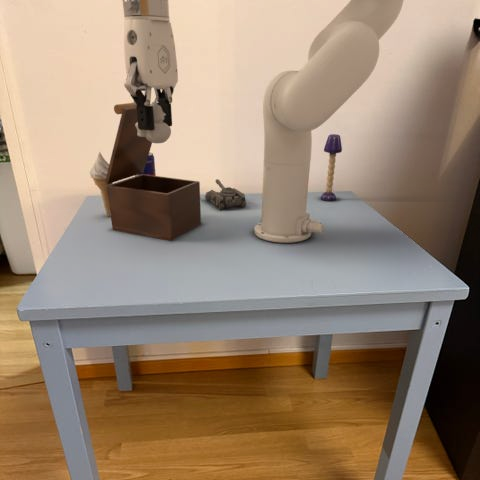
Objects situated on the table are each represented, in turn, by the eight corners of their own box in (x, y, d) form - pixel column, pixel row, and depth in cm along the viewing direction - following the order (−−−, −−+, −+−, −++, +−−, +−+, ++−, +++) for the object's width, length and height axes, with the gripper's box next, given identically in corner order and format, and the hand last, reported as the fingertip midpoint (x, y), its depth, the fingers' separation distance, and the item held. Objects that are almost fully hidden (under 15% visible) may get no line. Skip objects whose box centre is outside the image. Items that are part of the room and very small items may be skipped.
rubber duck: (175, 144, 85) (172, 97, 81) (140, 146, 83) (135, 97, 79) (167, 140, 90) (164, 95, 86) (134, 142, 87) (130, 95, 84)
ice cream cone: (124, 214, 111) (117, 150, 104) (112, 221, 107) (102, 154, 99) (105, 212, 113) (96, 148, 105) (91, 218, 108) (81, 152, 101)
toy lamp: (337, 201, 123) (345, 136, 114) (320, 201, 123) (326, 136, 115) (334, 197, 127) (341, 133, 119) (317, 197, 127) (324, 133, 119)
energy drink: (155, 203, 120) (151, 156, 114) (135, 203, 120) (130, 155, 114) (159, 198, 124) (155, 152, 118) (139, 197, 124) (135, 151, 118)
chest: (201, 224, 105) (199, 181, 100) (171, 241, 96) (168, 194, 91) (145, 214, 111) (142, 173, 106) (112, 229, 101) (106, 185, 96)
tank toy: (201, 199, 123) (200, 180, 121) (233, 196, 127) (233, 177, 124) (216, 212, 114) (216, 191, 111) (250, 208, 117) (251, 187, 115)
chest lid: (163, 104, 96) (145, 92, 96) (126, 109, 86) (105, 95, 87) (143, 172, 106) (126, 161, 107) (107, 184, 96) (89, 171, 97)
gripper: (134, 5, 68) (146, 135, 77) (191, 14, 81) (195, 123, 90) (94, 7, 70) (110, 132, 80) (155, 15, 84) (163, 121, 93)
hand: (155, 126), depth 85 cm, fingers closed on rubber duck, 5 cm apart
